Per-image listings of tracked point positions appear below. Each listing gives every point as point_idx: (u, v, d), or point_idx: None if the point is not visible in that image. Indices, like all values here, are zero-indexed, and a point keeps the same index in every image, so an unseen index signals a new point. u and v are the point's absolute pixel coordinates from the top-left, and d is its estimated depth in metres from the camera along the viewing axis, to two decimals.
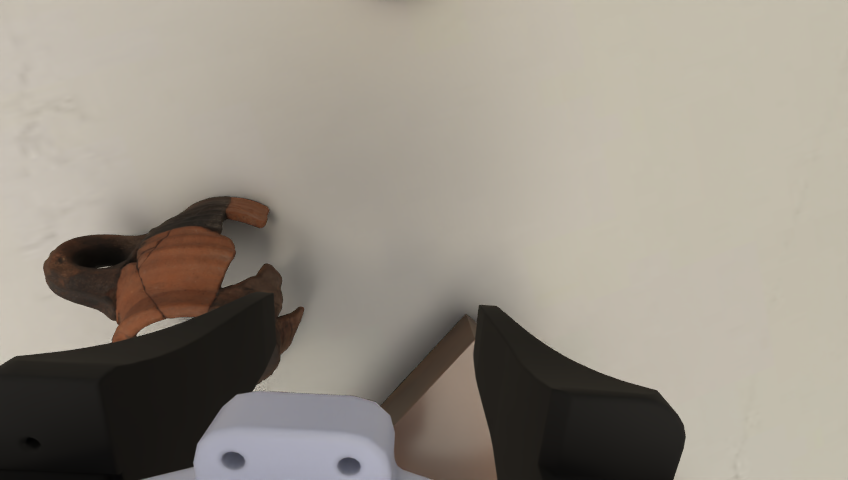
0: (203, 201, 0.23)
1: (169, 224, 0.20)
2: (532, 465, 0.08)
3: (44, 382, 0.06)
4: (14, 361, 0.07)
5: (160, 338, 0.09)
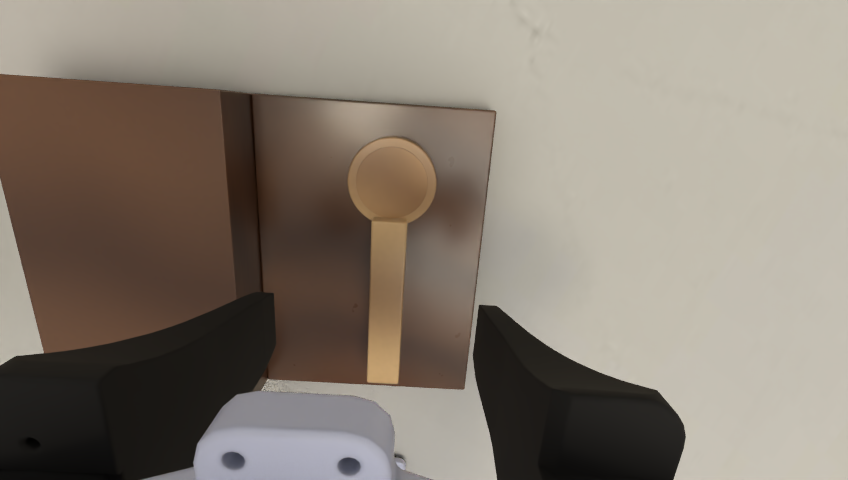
0: None
1: None
2: (532, 465, 0.08)
3: (44, 382, 0.06)
4: (14, 361, 0.07)
5: (159, 338, 0.09)
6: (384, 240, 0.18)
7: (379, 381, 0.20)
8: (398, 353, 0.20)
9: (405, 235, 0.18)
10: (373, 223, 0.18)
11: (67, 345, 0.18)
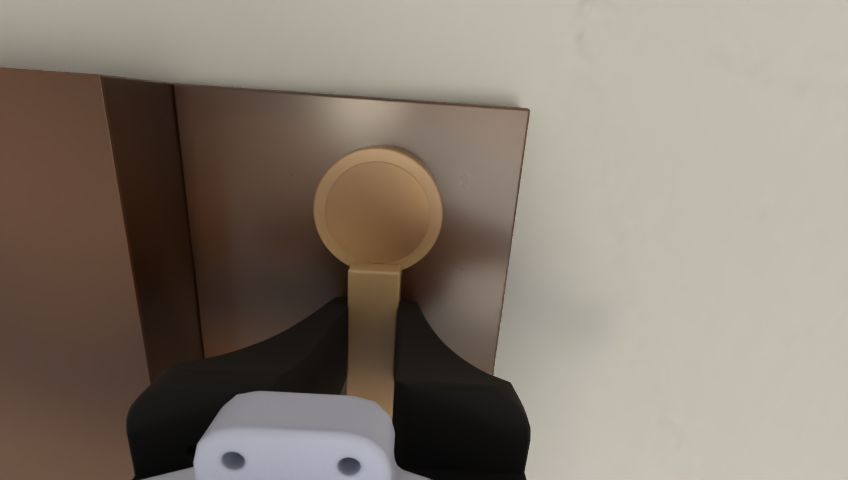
0: None
1: None
2: None
3: (217, 391, 0.06)
4: (179, 370, 0.07)
5: (279, 344, 0.09)
6: (367, 297, 0.12)
7: None
8: None
9: (397, 290, 0.12)
10: (350, 273, 0.12)
11: None
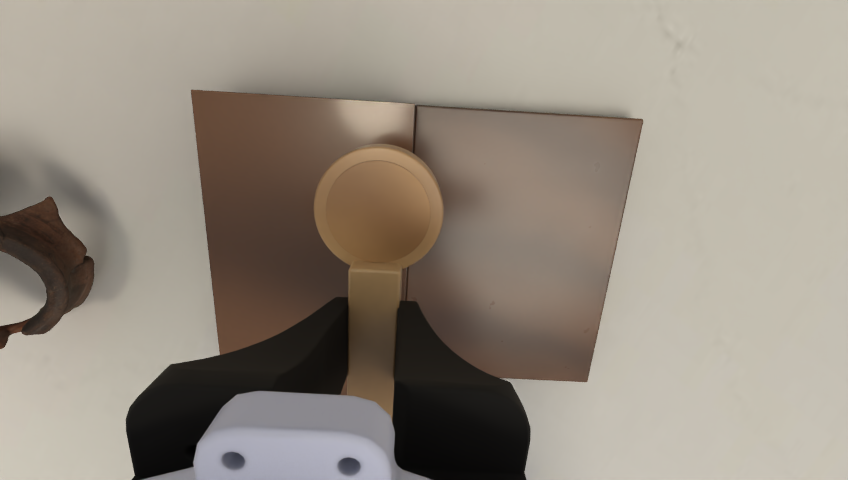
0: None
1: None
2: None
3: (217, 391, 0.06)
4: (179, 370, 0.07)
5: (279, 344, 0.09)
6: (367, 296, 0.12)
7: None
8: None
9: (398, 289, 0.12)
10: (351, 272, 0.12)
11: (242, 341, 0.20)
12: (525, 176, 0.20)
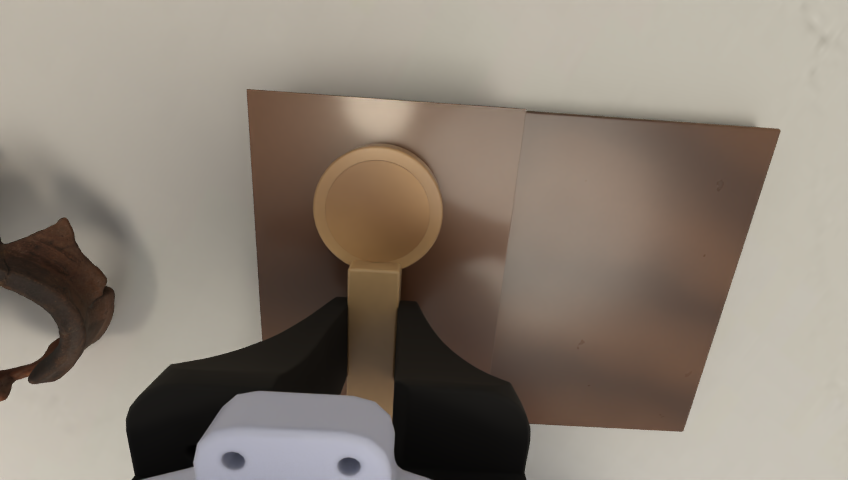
0: None
1: None
2: None
3: (217, 391, 0.06)
4: (179, 370, 0.07)
5: (279, 344, 0.09)
6: (366, 296, 0.12)
7: None
8: None
9: (397, 288, 0.12)
10: (350, 272, 0.12)
11: None
12: (633, 196, 0.17)
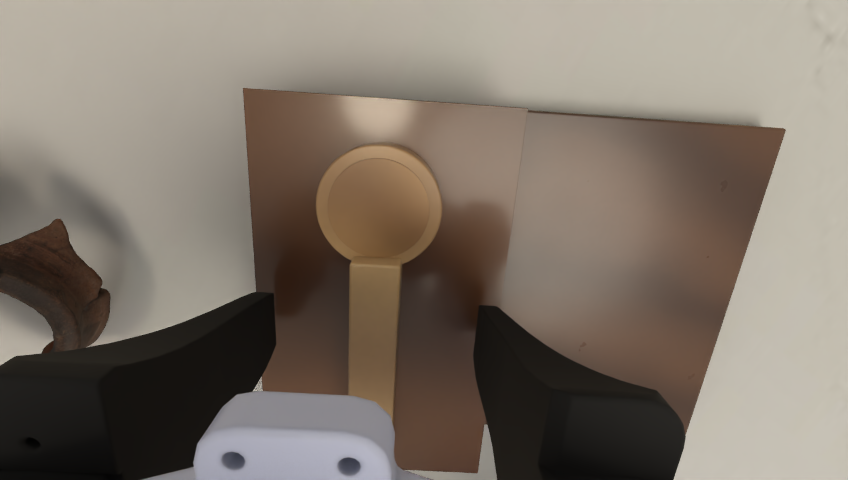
0: None
1: None
2: (532, 465, 0.08)
3: (44, 382, 0.06)
4: (14, 361, 0.07)
5: (159, 338, 0.09)
6: (368, 290, 0.13)
7: None
8: None
9: (398, 283, 0.13)
10: (352, 267, 0.12)
11: None
12: (636, 196, 0.17)
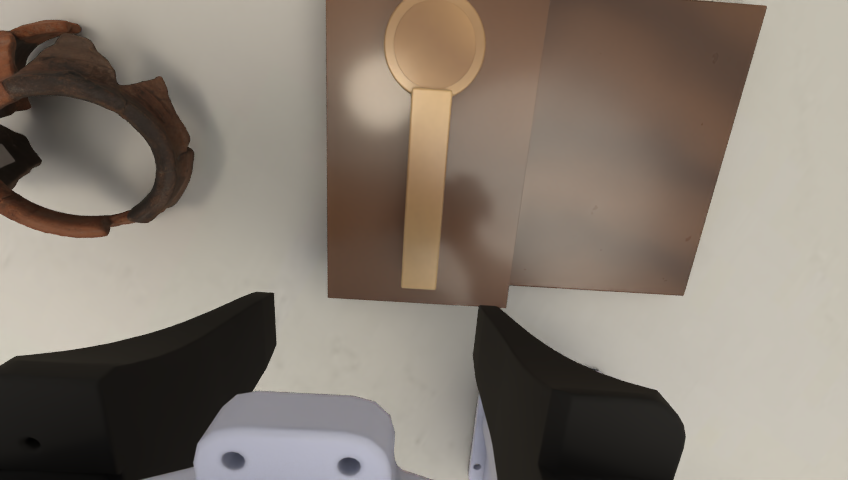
0: None
1: None
2: (532, 465, 0.08)
3: (44, 382, 0.06)
4: (14, 361, 0.07)
5: (160, 338, 0.09)
6: (426, 112, 0.16)
7: (415, 286, 0.18)
8: (437, 252, 0.18)
9: (450, 106, 0.16)
10: (414, 90, 0.16)
11: (351, 232, 0.19)
12: (641, 67, 0.20)
